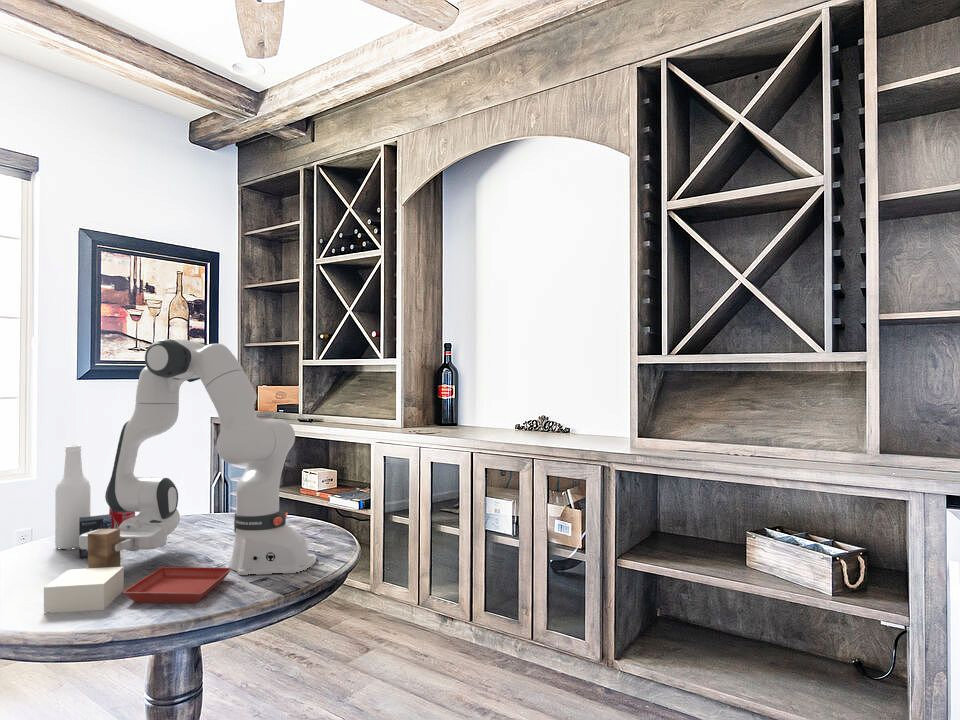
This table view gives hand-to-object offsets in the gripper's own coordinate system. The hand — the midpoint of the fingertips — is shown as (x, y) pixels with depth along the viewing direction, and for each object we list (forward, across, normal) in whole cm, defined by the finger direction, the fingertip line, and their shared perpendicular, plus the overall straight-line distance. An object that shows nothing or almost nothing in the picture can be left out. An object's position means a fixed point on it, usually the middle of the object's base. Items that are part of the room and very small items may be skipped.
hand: (101, 548), depth 158 cm
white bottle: (-29, -30, +8) cm, 42 cm away
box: (-22, -18, +8) cm, 29 cm away
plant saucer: (+4, +22, +10) cm, 25 cm away
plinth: (+12, +4, +9) cm, 16 cm away
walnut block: (-1, 0, +6) cm, 6 cm away
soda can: (-37, -20, +8) cm, 43 cm away
